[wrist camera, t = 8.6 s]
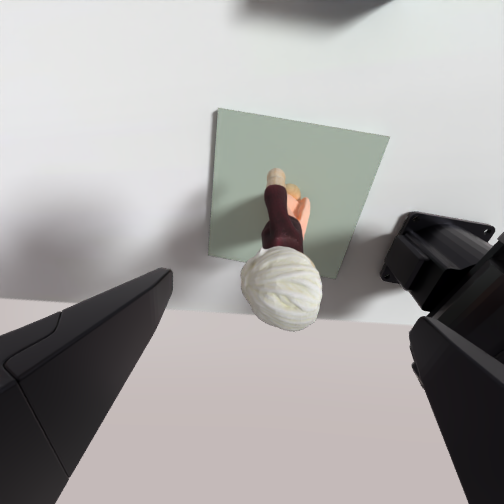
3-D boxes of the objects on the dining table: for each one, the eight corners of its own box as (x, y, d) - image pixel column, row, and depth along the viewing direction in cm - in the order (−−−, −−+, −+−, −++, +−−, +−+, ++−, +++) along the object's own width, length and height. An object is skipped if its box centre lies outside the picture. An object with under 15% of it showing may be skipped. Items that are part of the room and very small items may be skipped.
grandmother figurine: (318, 240, 21) (358, 376, 10) (275, 251, 22) (267, 386, 11) (296, 147, 18) (319, 194, 7) (247, 165, 19) (193, 230, 8)
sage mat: (387, 136, 17) (390, 136, 17) (334, 275, 23) (335, 279, 22) (219, 108, 18) (218, 107, 17) (209, 252, 23) (208, 255, 23)
